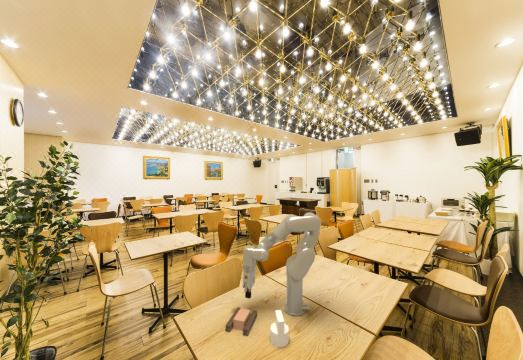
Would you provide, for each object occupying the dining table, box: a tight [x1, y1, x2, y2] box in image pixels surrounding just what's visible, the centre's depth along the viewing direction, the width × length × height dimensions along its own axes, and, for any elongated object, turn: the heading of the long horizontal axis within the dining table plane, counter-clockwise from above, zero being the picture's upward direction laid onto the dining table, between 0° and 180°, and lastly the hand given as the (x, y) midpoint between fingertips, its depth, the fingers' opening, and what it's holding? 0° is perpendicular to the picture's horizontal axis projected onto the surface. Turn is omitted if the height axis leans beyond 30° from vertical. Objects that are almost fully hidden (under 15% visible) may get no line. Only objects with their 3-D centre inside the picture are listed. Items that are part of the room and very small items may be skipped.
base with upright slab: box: [269, 309, 290, 348], centre depth 103 cm, size 9×9×12 cm
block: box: [232, 307, 251, 331], centre depth 115 cm, size 6×10×5 cm, turn 163°
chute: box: [225, 306, 258, 337], centre depth 115 cm, size 12×16×3 cm
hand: (248, 297), depth 127 cm, fingers closed
